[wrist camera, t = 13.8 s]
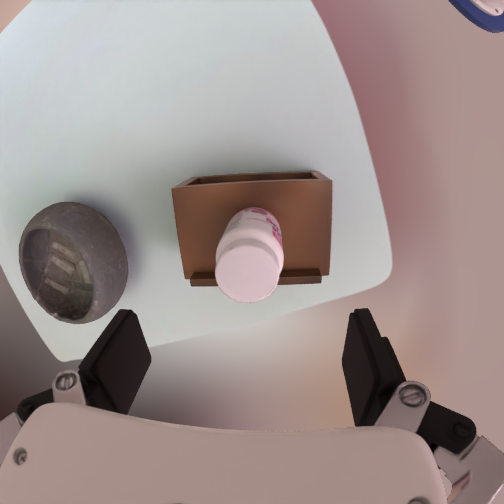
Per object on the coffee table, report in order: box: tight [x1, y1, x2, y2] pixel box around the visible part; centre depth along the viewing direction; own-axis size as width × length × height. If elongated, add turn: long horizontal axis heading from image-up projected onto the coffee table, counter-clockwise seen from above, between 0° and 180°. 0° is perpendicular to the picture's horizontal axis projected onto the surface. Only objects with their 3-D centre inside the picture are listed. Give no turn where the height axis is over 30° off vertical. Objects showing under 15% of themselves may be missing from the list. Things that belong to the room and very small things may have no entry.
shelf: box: [172, 171, 332, 286], centre depth 28 cm, size 14×9×8 cm, turn 93°
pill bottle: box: [215, 207, 284, 303], centre depth 21 cm, size 5×5×8 cm
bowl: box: [19, 202, 128, 324], centre depth 30 cm, size 15×15×10 cm
